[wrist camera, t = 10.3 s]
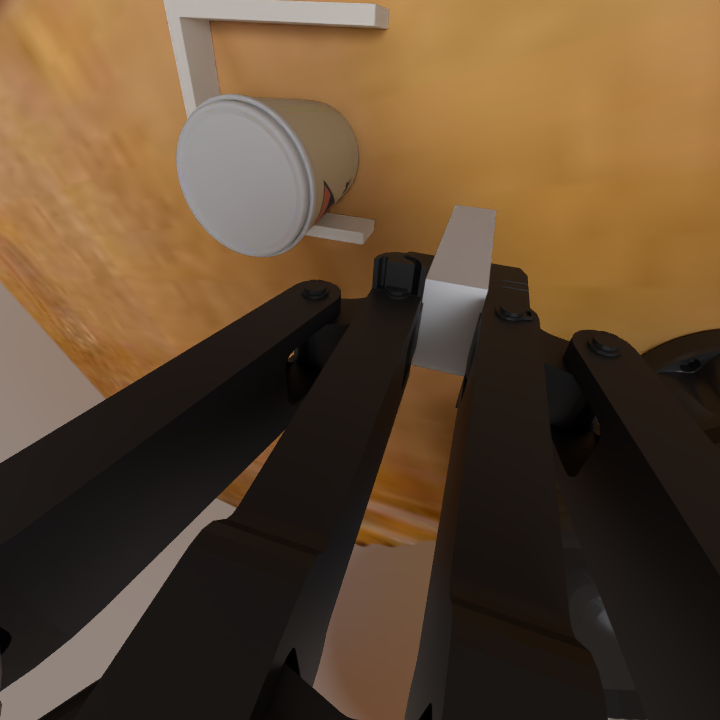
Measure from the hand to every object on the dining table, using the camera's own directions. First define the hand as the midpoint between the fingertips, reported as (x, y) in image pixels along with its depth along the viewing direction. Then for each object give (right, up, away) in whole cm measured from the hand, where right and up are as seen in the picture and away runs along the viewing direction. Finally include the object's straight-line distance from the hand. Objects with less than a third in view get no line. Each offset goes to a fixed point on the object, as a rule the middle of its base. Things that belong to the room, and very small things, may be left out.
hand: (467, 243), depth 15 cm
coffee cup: (-8, +13, +18) cm, 23 cm away
